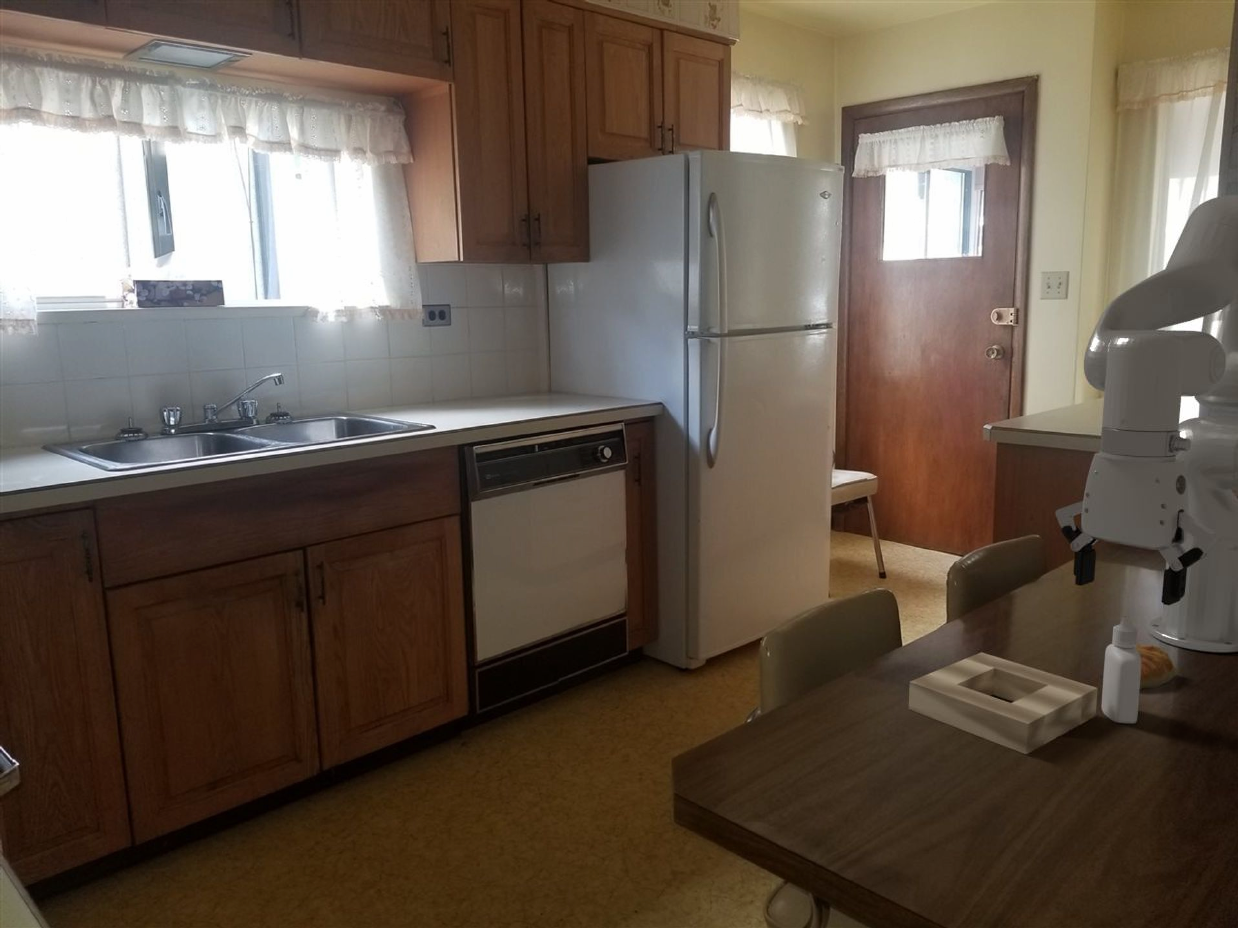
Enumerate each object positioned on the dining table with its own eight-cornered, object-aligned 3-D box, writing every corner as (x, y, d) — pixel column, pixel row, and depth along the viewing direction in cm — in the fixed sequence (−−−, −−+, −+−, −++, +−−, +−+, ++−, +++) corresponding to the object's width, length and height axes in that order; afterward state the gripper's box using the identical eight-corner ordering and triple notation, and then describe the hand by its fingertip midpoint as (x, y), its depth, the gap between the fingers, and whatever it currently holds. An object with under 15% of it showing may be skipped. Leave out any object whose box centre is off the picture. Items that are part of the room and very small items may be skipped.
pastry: (1149, 698, 117) (1151, 669, 117) (1093, 683, 122) (1094, 654, 122) (1179, 678, 123) (1181, 650, 123) (1124, 664, 128) (1126, 637, 128)
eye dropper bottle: (1145, 711, 113) (1152, 614, 111) (1133, 727, 109) (1141, 627, 107) (1105, 702, 116) (1111, 607, 114) (1092, 717, 112) (1098, 619, 110)
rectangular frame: (980, 677, 124) (981, 652, 123) (1095, 716, 112) (1097, 687, 112) (908, 709, 115) (909, 681, 114) (1026, 754, 103) (1027, 723, 103)
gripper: (1238, 450, 102) (1223, 604, 105) (1079, 434, 116) (1069, 571, 119) (1208, 456, 98) (1193, 617, 100) (1046, 439, 111) (1036, 581, 114)
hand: (1126, 592), depth 109 cm, fingers open, 9 cm apart
